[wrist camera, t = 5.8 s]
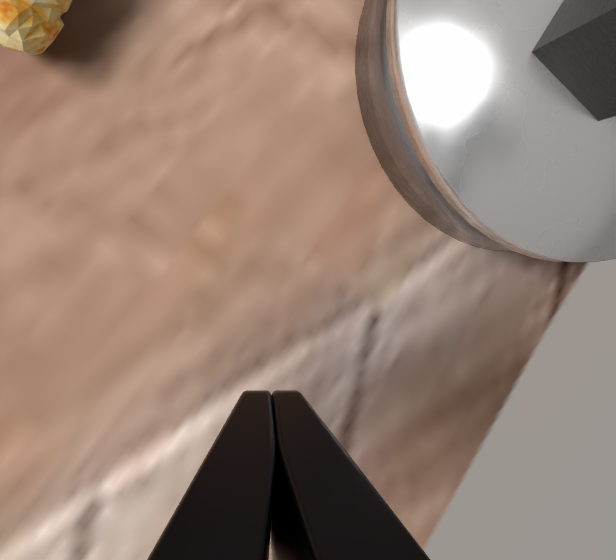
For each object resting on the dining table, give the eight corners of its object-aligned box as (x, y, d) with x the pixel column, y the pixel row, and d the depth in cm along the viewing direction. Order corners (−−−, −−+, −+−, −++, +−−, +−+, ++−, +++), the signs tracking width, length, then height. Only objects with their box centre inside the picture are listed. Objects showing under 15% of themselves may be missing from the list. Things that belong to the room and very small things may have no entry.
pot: (580, 348, 23) (643, 360, 20) (219, 50, 18) (236, 9, 15) (712, 105, 25) (785, 86, 22) (426, -229, 20) (474, -311, 17)
